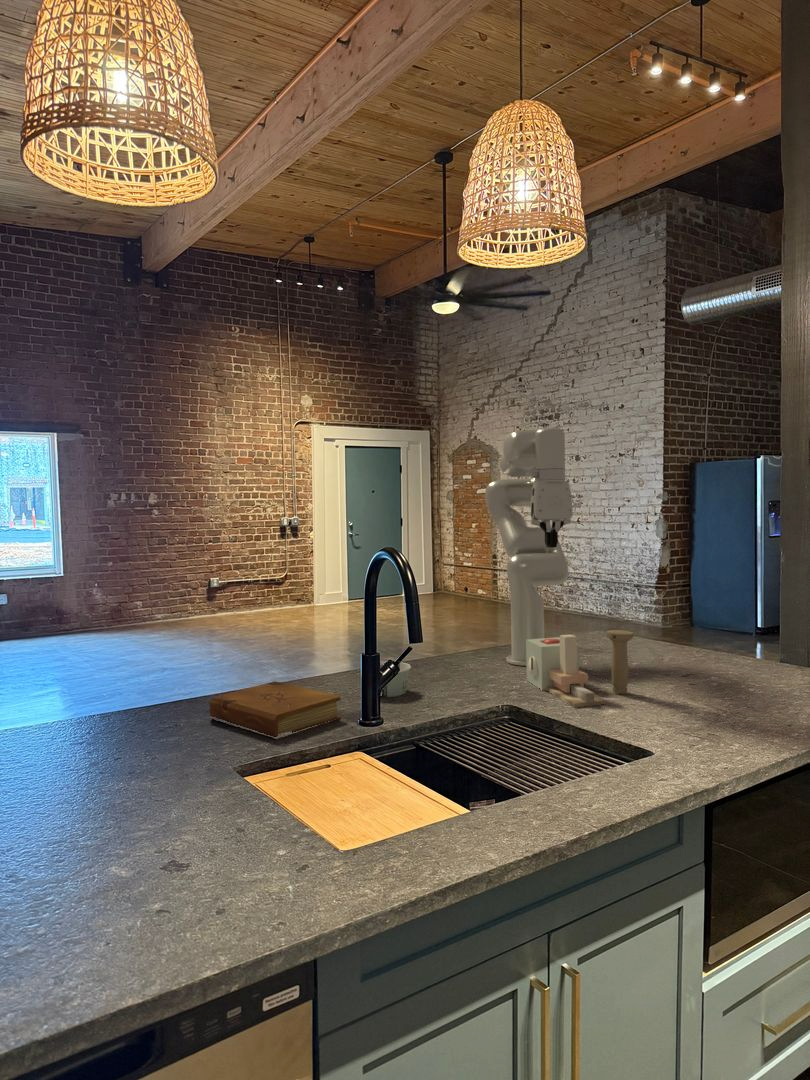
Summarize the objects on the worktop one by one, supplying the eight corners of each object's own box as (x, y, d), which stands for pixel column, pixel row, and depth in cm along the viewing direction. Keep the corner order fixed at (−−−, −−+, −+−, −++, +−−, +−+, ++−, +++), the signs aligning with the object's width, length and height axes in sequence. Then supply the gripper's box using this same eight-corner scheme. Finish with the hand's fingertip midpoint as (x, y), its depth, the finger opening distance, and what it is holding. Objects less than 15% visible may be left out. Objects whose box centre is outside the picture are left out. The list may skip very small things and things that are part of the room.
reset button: (541, 650, 194) (541, 639, 194) (555, 649, 195) (555, 638, 195) (547, 653, 190) (547, 642, 190) (562, 652, 191) (562, 641, 191)
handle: (626, 697, 179) (626, 635, 178) (603, 692, 184) (602, 632, 183) (637, 693, 183) (636, 632, 182) (613, 688, 187) (613, 629, 186)
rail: (546, 690, 187) (546, 678, 187) (576, 688, 189) (576, 676, 189) (574, 707, 172) (574, 694, 172) (606, 704, 174) (605, 691, 174)
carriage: (549, 686, 186) (548, 634, 186) (575, 683, 188) (574, 632, 187) (561, 693, 180) (560, 639, 179) (588, 690, 181) (587, 637, 180)
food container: (411, 698, 184) (410, 671, 183) (362, 699, 184) (361, 672, 183) (411, 685, 196) (411, 660, 195) (366, 686, 196) (365, 661, 195)
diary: (210, 723, 169) (209, 698, 169) (275, 704, 183) (274, 681, 183) (275, 742, 154) (274, 714, 154) (341, 720, 168) (340, 695, 168)
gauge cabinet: (524, 681, 197) (523, 639, 196) (561, 678, 199) (561, 637, 199) (539, 690, 187) (538, 647, 186) (578, 687, 190) (578, 644, 189)
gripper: (529, 476, 189) (530, 549, 190) (583, 475, 192) (584, 546, 193) (517, 477, 196) (519, 547, 197) (570, 476, 200) (571, 545, 201)
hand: (551, 547), depth 195 cm, fingers closed
